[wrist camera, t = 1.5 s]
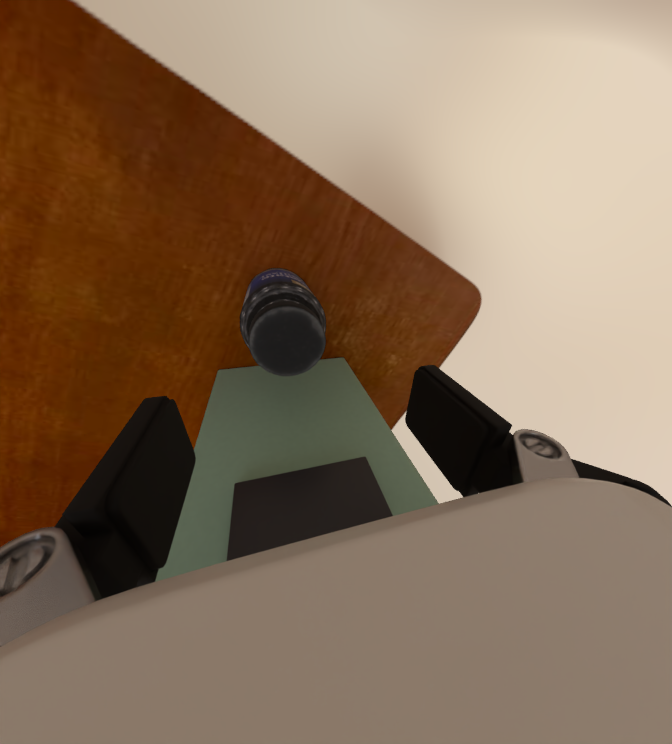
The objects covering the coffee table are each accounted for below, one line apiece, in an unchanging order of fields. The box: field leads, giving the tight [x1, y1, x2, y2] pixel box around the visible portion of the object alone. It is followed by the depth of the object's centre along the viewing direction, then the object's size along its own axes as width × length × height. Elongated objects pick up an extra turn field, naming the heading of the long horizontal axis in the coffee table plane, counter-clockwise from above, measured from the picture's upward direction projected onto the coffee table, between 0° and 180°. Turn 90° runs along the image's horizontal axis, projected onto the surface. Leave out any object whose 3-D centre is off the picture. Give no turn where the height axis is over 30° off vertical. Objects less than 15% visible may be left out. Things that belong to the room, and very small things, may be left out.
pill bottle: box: [240, 268, 326, 376], centre depth 19 cm, size 6×6×11 cm
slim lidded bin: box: [155, 357, 439, 582], centre depth 20 cm, size 9×15×24 cm, turn 89°
